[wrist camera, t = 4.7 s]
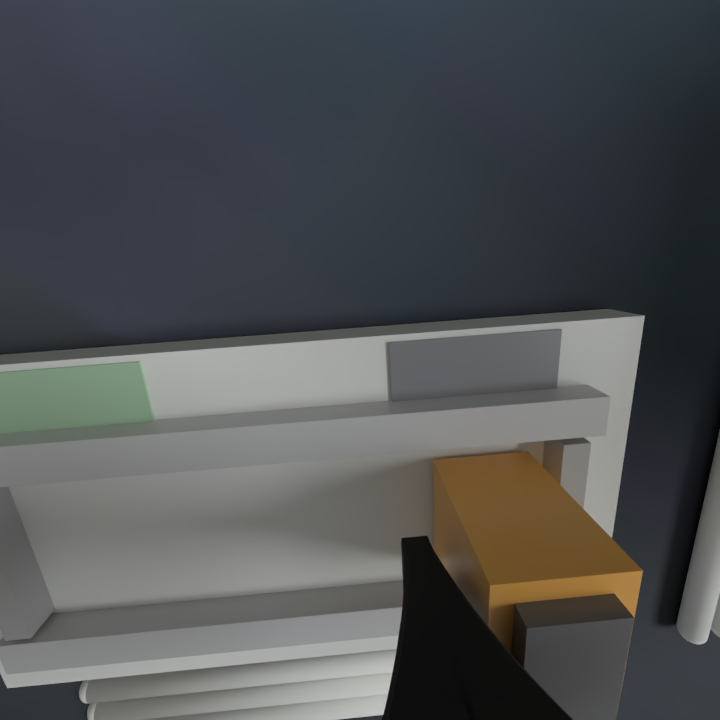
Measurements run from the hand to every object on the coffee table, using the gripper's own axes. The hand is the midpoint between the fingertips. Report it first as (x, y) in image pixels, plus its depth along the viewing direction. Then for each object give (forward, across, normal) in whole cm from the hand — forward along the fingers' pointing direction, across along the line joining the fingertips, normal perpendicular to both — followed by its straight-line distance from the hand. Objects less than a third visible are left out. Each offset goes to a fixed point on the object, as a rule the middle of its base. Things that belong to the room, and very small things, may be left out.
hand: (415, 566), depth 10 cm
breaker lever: (+2, -2, 0) cm, 3 cm away
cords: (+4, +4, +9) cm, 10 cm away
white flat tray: (+4, +4, 0) cm, 5 cm away
